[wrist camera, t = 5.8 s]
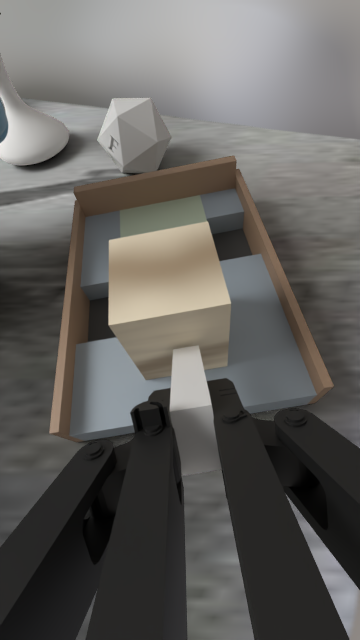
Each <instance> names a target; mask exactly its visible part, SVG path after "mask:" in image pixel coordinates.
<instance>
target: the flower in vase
mask: <svg viewBox="0 0 360 640" xmlns="http://www.w3.org/2000/svg"><path fill="white" fill-rule="evenodd" d="M0 14H1V13H0ZM0 97H1V99H2V101H3V104H4V106H5V111H6V112H5V113H6V116H7V119H8V134H7V136H6V138H5V139H4V141H3V142H1V143H0V158H1V159H2V160H4V161H5V162H7V163H9V164H12V165H31V164H36V163H40V162H43V161H45V160H47V159H49V158H51V157H53V156H55V155H56V154H57V153H59V152H60V151H61V150H62V149H63V148H64V147H65V146H66V145H67V143H68V140H69V130H68V128H67V127H66V126H65V125H64V124H63V123H62V122H61V121H59V120H57V119H56V118H54V117H52V116H49V115H47V114H45V113H42V112H40V111H38V110H35V109H33V108H31V107H29V106H28V105H26V104H25V103H24V102H23V101H22V99H21V98H20V97H19V95H18V94H17V92H16V90H15V88H14V86H13V84H12V82H11V80H10V78H9V76H8V74H7V71H6V69H5V66H4V64H3V61H2V58H1V55H0Z"/></svg>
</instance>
